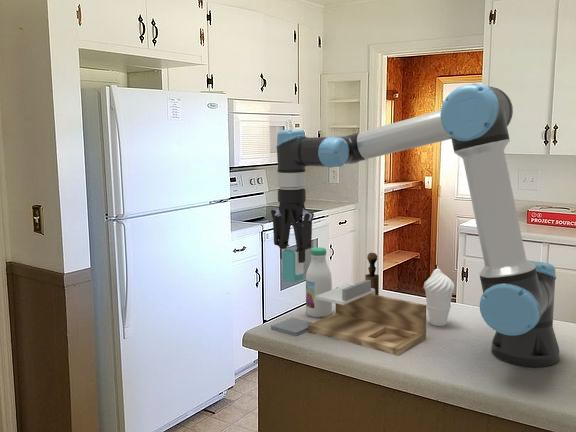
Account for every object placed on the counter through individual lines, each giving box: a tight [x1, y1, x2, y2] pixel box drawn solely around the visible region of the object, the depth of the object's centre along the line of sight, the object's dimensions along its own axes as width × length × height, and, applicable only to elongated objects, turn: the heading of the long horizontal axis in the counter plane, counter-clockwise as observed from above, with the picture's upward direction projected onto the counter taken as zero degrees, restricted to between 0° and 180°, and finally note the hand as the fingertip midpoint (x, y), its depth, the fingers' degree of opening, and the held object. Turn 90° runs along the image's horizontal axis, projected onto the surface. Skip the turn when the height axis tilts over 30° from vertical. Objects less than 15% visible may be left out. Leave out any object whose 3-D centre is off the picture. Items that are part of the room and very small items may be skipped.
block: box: [281, 248, 304, 283], centre depth 156 cm, size 4×4×8 cm
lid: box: [316, 279, 375, 305], centre depth 156 cm, size 9×15×11 cm, turn 139°
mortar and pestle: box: [364, 252, 380, 296], centre depth 171 cm, size 7×6×18 cm
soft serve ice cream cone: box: [423, 268, 455, 327], centre depth 159 cm, size 8×8×16 cm
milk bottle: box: [305, 247, 333, 318], centre depth 169 cm, size 8×8×20 cm
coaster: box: [270, 316, 313, 337], centre depth 159 cm, size 9×9×1 cm
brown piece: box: [307, 286, 427, 357], centre depth 151 cm, size 28×14×10 cm, turn 49°
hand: (292, 272), depth 157 cm, fingers closed on block, 4 cm apart
